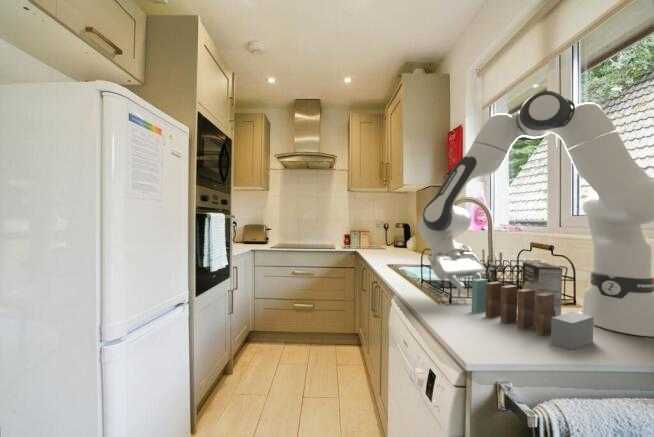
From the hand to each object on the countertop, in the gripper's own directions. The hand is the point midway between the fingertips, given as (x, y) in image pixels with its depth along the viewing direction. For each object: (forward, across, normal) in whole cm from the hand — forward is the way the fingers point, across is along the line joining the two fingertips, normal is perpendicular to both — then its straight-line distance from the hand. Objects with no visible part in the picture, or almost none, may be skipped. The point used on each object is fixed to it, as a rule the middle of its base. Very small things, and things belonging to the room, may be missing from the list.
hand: (472, 287), depth 90 cm
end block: (+23, 0, -14) cm, 27 cm away
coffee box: (+15, +10, -5) cm, 19 cm away
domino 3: (+13, 0, -3) cm, 13 cm away
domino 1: (+7, 0, +3) cm, 7 cm away
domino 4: (+16, 0, -6) cm, 17 cm away
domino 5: (+19, 0, -10) cm, 22 cm away
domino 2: (+10, 0, 0) cm, 10 cm away
